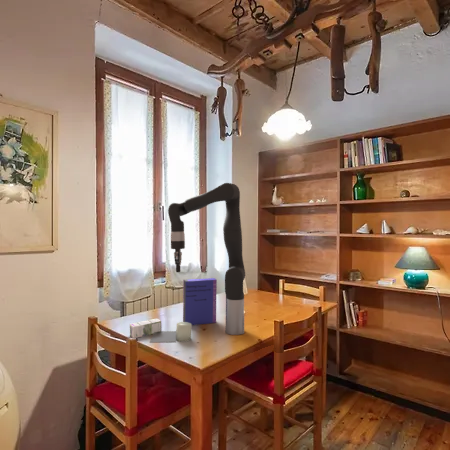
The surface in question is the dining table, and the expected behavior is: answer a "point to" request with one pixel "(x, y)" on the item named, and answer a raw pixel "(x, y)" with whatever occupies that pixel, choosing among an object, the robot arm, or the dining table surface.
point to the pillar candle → (183, 331)
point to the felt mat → (164, 336)
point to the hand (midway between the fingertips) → (178, 271)
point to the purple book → (199, 301)
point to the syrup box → (145, 328)
